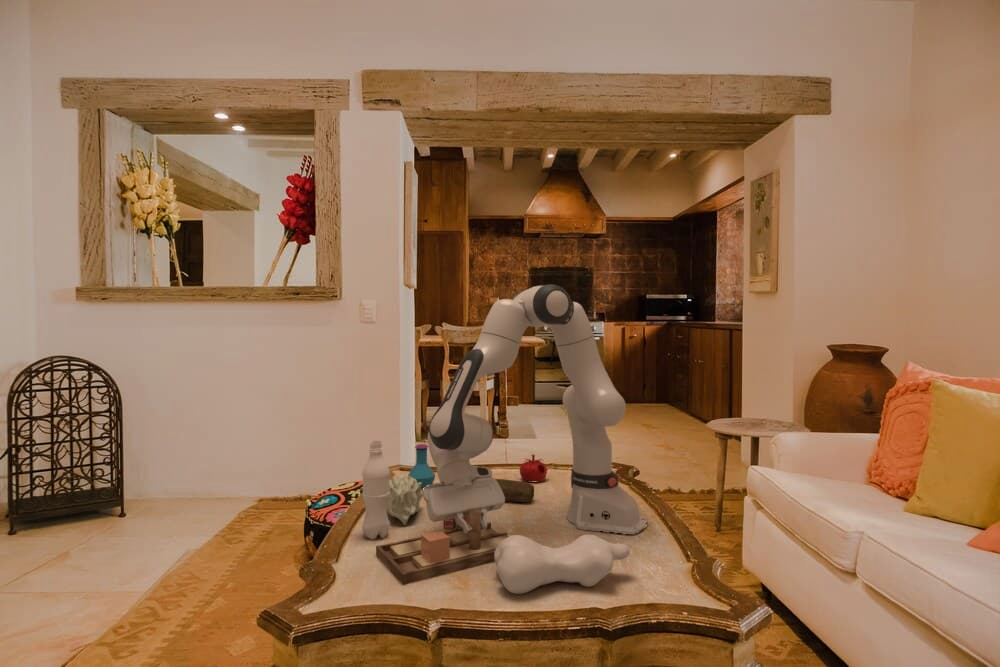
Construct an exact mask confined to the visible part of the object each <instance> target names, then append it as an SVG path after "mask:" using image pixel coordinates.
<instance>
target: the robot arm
mask: <svg viewBox="0 0 1000 667" xmlns="http://www.w3.org/2000/svg"><path fill="white" fill-rule="evenodd" d="M545 326H548V327H549V329H550V330H551V333H552V334H553V337H554V343H555V346H556V350H557V353H558V357H559V361H560V364H561V368H562V371H563V372H564V374H565V375H566V376H567V378H568V380H569V382H570V383H571V385H569V386H568V387H567V388H566V389H565V390H564V392H563V395H562V405H563V407H564V409H565V411H566V414H567V419H568V423H569V428H570V435H571V439H572V469H571V474H570V475H571V476H570V483H571V484H570V486H571V489H572V490H571V496H570V497H571V499H570V503H569V508H568V512H567V516H566V519H567V520H568V521H569V522H570V523H571V524H573V525H575V527H576V528H577V529H579V530H585V531H593V532H600V531H603V533H609V532H614V533H613V534H617V533H625V534H624V535H626V534H633V533H637V532H639V531H641V530H642V529H643V528H644V527H645V525H646V523H647V524H648V519H647V518H646V516H643V515H640V512H639V506H638V502H637V500H636V499H635V497H633V496H632V495H630V493H628V492H627V491H626V490H624V489H623V488H622V487H621V486H620V485H619V479H620V473H618V474H616V472H614V471H613V466H612V464H613V463H612V462H613V461H612V460H613V459H612V458H613V457H612V456H613V454H612V452H613V450H612V449H613V448H612V447H613V446H612V441H611V440H610V438H609V436H608V432H607V430H606V427H614V426H617V425H619V423H621V422H622V420H623V419H624V418H625V416H626V412H627V404H626V401H625V399H624V397H623V396H622V395H621V394H620V392H619V391H618V390H617V389H616V387H615V386H614V384H613V382H612V380H611V377H610V376H609V374H608V372H607V371H606V369H605V366H604V363H603V361H602V359H601V356H600V353H599V349H598V345H597V342H596V338H595V336H594V332H593V328H592V326H591V322H590V320H589V318H588V315H587V314H586V311H585V309H584V308H583V306H582V305H581V304H580V303H578V302H576V301H573V300H572V299H571V297H570V295H569V293H568V292H567V291H566V290H565V288H564V287H561V286H559V285H557V284H551V283H550V284H545V285H536V286H532V287H530V288H528V289H524V290H521V291H519V292H517V293H516V294H515V295H514V296H513V297H511V299H510V298H502V299H499V300H496V301H495V302H494V303H493V304H492V306H491V308H490V309H489V312H488V314H487V316H486V318H485V320H484V323H483V325H482V327H481V328H482V329H481V331H480V334H479V336H478V340H477V341H476V344H475V345H474V346H473V348H472V349H469V351H468V352H467V353H465V354H464V356H463V357H462V359H461V361H460V363H459V365H458V367H457V369H456V371H455V373H454V376H453V377H452V380H451V382H450V384H449V386H448V389H447V391H446V392H445V395H444V397H443V399H442V400H441V401H442V402H441V403H440V405H438V406H439V407H438V408H437V410H436V411H435V412H434V414H433V416H432V417H431V419H430V422H429V426H428V432H427V444H428V445H427V446H428V449H429V453H430V457H431V459H432V462H433V464H434V465H435V467H436V470H437V477H438V480H439V482H436V483H433V484H429V485H426V487H424V488H423V490H422V494H423V496H422V497H423V499H424V501H425V505H426V511H427V516H428V519H429V520H430V521H432V522H433V523H437V522H442V521H443V522H444V520H448V519H453V518H455V521H456V523H458V524H459V525H460V526H461V527H462V528H463V531H464V533H469V532H471V531H472V527H471V524H470V523H467V522H466V521H465V520H464V519H463V516H468V515H469V510H471V509H480V510H481V530H483V529H486V528H487V523H488V522H487V521H486V519H487V513H488V512H492V511H496V510H501V508H502V507H503V506H504V504H505V503H506V501H505V496H504V494H503V492H502V489H501V487H500V485H499V484H498V482H497V481H496V480H495V479H496V478H494V477H492V476H493V471H492V469H491V468H489V467H483V466H478V465H474V464H471V461H470V460H471V459H473V458H476V457H477V456H479V455H481V454H483V453H484V452H486V451H487V450H488V449H489V448H490V446H491V445H492V442H493V439H494V431H493V426H492V425H491V423H490V421H488V420H487V419H485V418H483V417H480V416H477V415H473V414H468V413H466V412H465V411H466V410H465V409H466V407H467V405H468V402H469V400H470V398H471V396H472V395H473V391H474V389H475V387H476V385H477V383H478V382H479V380H481V379H482V378H483V377H485V376H487V375H491V374H499V373H501V372H503V371H506V370H508V369H510V368H511V367H512V366H513V364H514V363H515V361H516V359H517V356H518V354H519V349H520V348H521V342H522V339H523V336H524V333H525V332H526V330H527V328H530V327H533V328H536V327H537V328H539V327H540V328H541V327H545ZM643 520H644V521H643Z"/></svg>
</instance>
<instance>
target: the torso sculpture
mask: <svg viewBox="0 0 1000 667" xmlns="http://www.w3.org/2000/svg"><path fill="white" fill-rule="evenodd" d="M509 536H510V537H507V538H506V539H504V540H503V541H502V542H501V543H500V544H499V545H498V546H497V548H496V550H495V553H494V560H495V561H494V562H495V563H494V564H495V565H496V570H497V574H498V577H499V579H500V581H501V583H502V585H503V587H504V588H506V589H507V591H508V592H510V593H511V594H515V595H522V594H526V593H528V592H531V591H533V590H534V589H537V588H538V587H540V586H543V585H549V584H552V583H555V582H564V583H579V585H581V586H583V587H585V588H589V587H590V588H592V587H593V586H595V585H597V584H598V583H599V582H600V581H601V580H602V579H604V578H605V577H606V576H608V574H609V573H610V572H611V571H612V570H613V568H614V561H618V560H624V559H627V558H628V557H629V555H630V549H629V547H628V546H627V545H626V544H624V543H612V542H608V541H607V540H605V539H604V538H601V537H599V536H597V535H595V534H583V535H581V536H579V537H577V538H576V539H575V540H574V541H573V542H570V543H569V544H567V545H563V546H561V547H550V546H546V545H543V544H541V543H539V542H536V541H535V540H534V539H531V538H530V537H527V536H524V535H521V534H513V535H509Z"/></svg>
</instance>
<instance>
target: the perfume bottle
mask: <svg viewBox="0 0 1000 667" xmlns="http://www.w3.org/2000/svg"><path fill="white" fill-rule="evenodd" d="M414 448H415V452H416V457H415V458H416V459H415V460H416V463H415V464H414V466H413V468H412V469H411V470H410V472H409V473H408V475H407V476H410V477H412V478H414V479H416V481H417V483H419V482H422V485H421V490H423V488H424V487H426V485H429V484H434V481H435V477H436V473H435V472H434V471H433V469H432V468H431V467H430V465H429V464H428V449H429V446H428V445H427V444H426V443H420V444H416V445H415V446H414Z"/></svg>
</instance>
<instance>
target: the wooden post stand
mask: <svg viewBox="0 0 1000 667" xmlns="http://www.w3.org/2000/svg"><path fill="white" fill-rule="evenodd" d="M469 523H470V524H471V527H472V531H471V532H469V544H465V545H460V546H456V547H452V548H450V559H446V560H442V561H438V562H434V563H429V562H428V561H426V560H425V559H424V558H423V557H422V556H421V555H417V556H413V557H412V562H413V563H414V564H415V565H416V566H417V567H418V568H419V569H420V568H424V567H428V566H432V565H436V564H440V563H444V562H448V561H452V560H456V559H461V558H465V557H469V556H473V555H477V554H481V553H485V552H489V551H493V550H496V548H497V546H498V545H499V544H500V543H501V542H502V541H503V540H504V539H506V538H507V537H510V536H511V535H509V534H508V535H504V536H499V537H495V538H491V539H486V540H482V541H481V510H480V509H471V510H469Z"/></svg>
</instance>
